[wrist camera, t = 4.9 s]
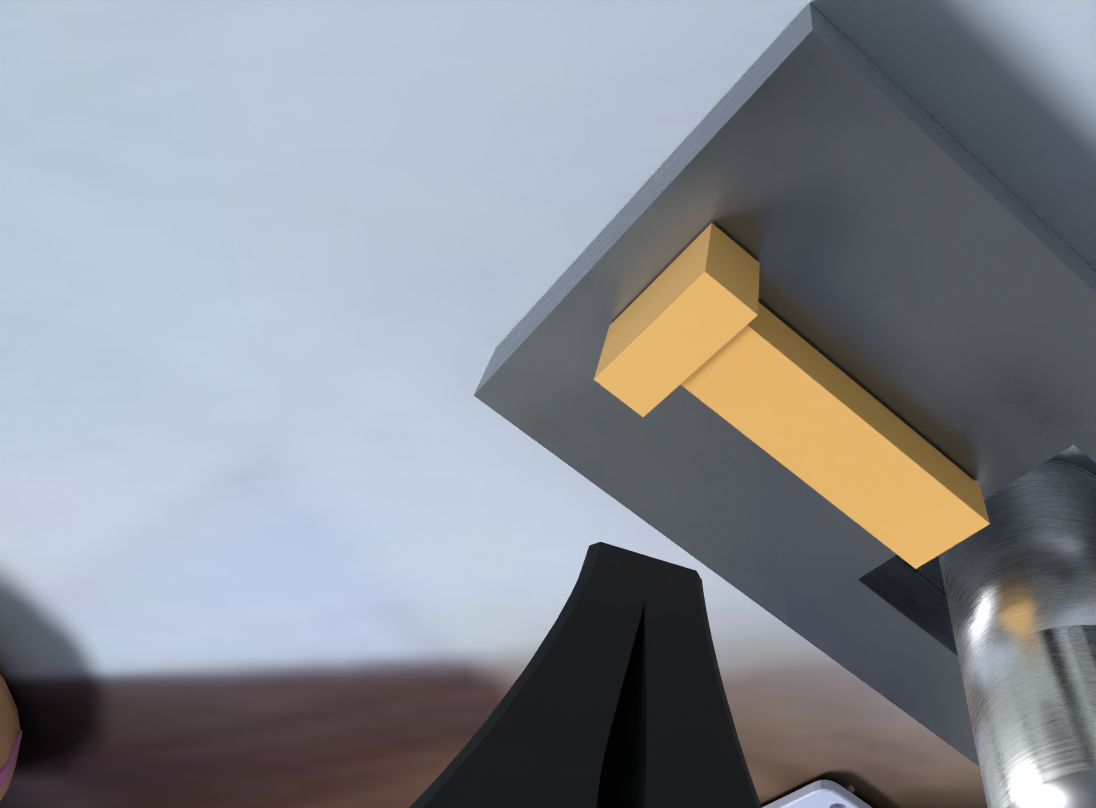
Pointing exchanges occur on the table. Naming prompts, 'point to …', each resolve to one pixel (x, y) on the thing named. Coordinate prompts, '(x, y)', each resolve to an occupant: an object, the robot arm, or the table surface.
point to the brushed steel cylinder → (1031, 638)
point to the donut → (8, 736)
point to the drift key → (785, 400)
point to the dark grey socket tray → (825, 348)
